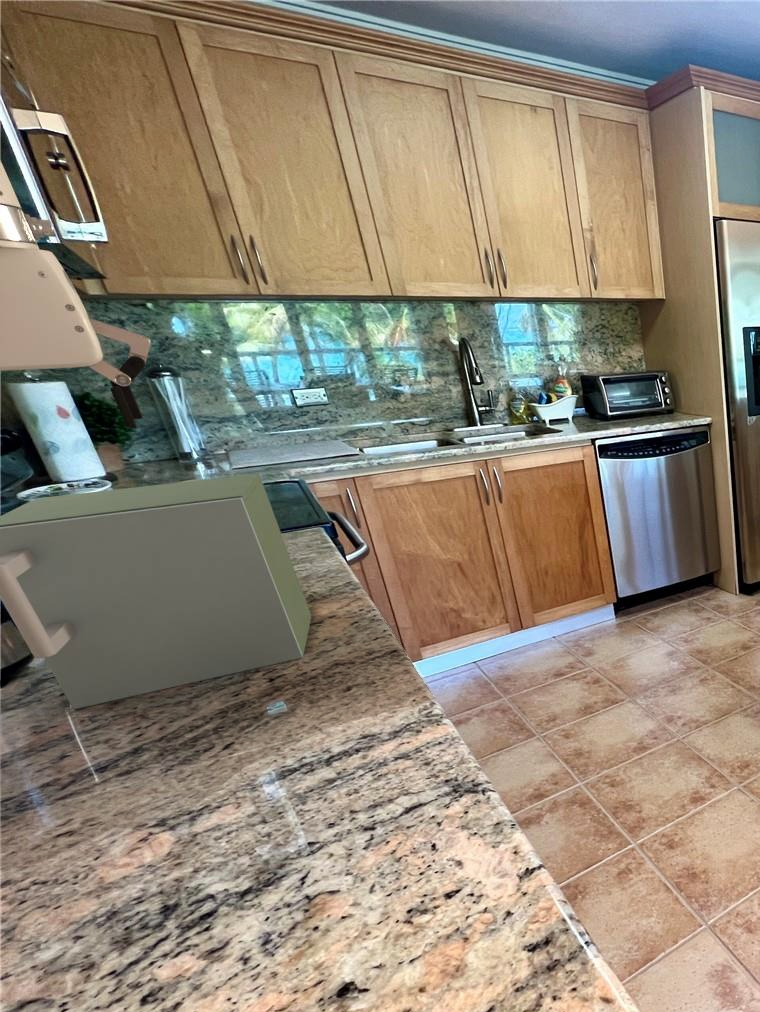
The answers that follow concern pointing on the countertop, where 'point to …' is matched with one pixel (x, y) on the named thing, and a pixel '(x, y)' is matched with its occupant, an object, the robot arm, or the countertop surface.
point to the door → (144, 598)
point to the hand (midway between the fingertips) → (63, 433)
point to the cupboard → (180, 495)
